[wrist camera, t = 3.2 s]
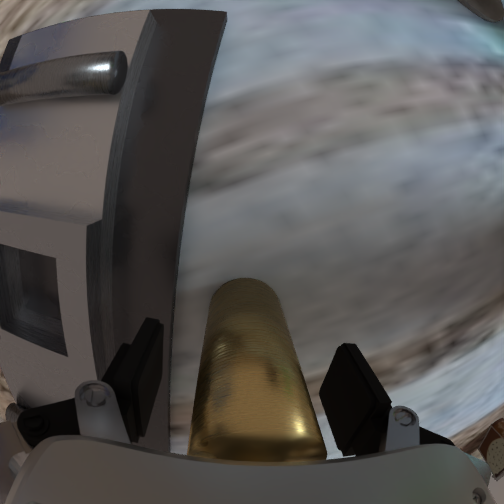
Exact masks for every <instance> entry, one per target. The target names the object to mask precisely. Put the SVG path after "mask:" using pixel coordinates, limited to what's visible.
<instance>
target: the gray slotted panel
mask: <svg viewBox="0 0 504 504" xmlns="http://www.w3.org/2000/svg"><path fill="white" fill-rule="evenodd" d="M226 23H227V12H224V11H212V10H195V9H154V10H138V11H126V12H117V13H110V14H103V15H97V16H91V17H86V18H81V19H76V20H71V21H67V22H63V23H59V24H55V25H52V26H48V27H45V28H41V29H38V30H35V31H32V32H29V33H26V34H23V35H21V36H18V37H15V38H13V39H10V40H9V41H8V44H7V46H6V49H5V52H4V54H3V57H2V60H1V63H0V366H1V369H2V372H3V374H4V377H5V379H6V382H7V384H8V386H9V389H10V391H11V393H12V395H13V397H14V400H15V402H16V404H15V403H11V404H9V405H8V407H7V409H6V420H7V421H8V420H11V422H12V423H13V422H16V421H17V419H18V417H19V415H20V414H21V413H22V412H23V411H24V410H27V409H30V408H34V407H39V406H43V405H48V404H52V403H56V402H60V401H64V400H68V399H72V398H75V390H76V388H77V387H78V386H79V385H80V384H81V383H83V382H85V381H90V380H98V381H101V380H102V378H103V376H104V374H105V372H106V371H107V369H108V367H109V365H110V363H111V362H112V360H113V358H114V356H115V355H116V353H117V351H118V349H119V348H120V346H121V345H122V343H127V344H132V342H133V340H134V338H135V336H136V334H137V333H138V331H139V329H140V327H141V325H142V324H143V322H144V320H145V318H146V317H149V318H154V319H159V320H160V323H161V324H164V337H163V373H162V379H161V383H160V386H159V389H158V393H157V396H156V399H155V403H154V406H153V409H152V413H151V416H150V420H149V423H148V427H147V430H146V434H145V437H140V438H139V441H138V443H135V442H132V445H137V446H141V447H145V448H150V449H155V450H160V451H165V452H170V377H171V352H172V334H173V319H174V306H175V294H176V284H177V274H178V264H179V256H180V247H181V239H182V231H183V224H184V217H185V210H186V203H187V197H188V190H189V184H190V178H191V172H192V167H193V161H194V156H195V150H196V145H197V140H198V135H199V130H200V125H201V121H202V116H203V111H204V107H205V102H206V98H207V94H208V89H209V85H210V81H211V77H212V73H213V69H214V65H215V61H216V58H217V54H218V50H219V47H220V43H221V40H222V36H223V33H224V29H225V26H226Z"/></svg>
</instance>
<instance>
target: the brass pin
mask: <svg viewBox="0 0 504 504" xmlns="http://www.w3.org/2000/svg"><path fill="white" fill-rule="evenodd" d="M187 455H189V456H196V457H203V458H212V459H222V460H234V461H252V462H299V461H317V460H326V458H327V450H326V447H325V443H324V440H323V437H322V434H321V430H320V427H319V424H318V421H317V418H316V414H315V411H314V408H313V405H312V402H311V399H310V395H309V392H308V389H307V386H306V383H305V380H304V376H303V373H302V370H301V367H300V364H299V361H298V358H297V355H296V351H295V348H294V345H293V342H292V339H291V336H290V333H289V330H288V327H287V324H286V321H285V317H284V314H283V311H282V308H281V305H280V302H279V299H278V297H277V295H276V293H275V292H274V291H273V289H272V288H271V287H269V286H268V285H267V284H265V283H264V282H262V281H259V280H256V279H252V278H239V279H235V280H231V281H229V282H227V283H225V284H224V285H222V286H221V287H220V288H219V289H218V290H217V291H216V292H215V293H214V295H213V297H212V299H211V303H210V307H209V313H208V319H207V325H206V330H205V336H204V342H203V348H202V355H201V361H200V367H199V373H198V380H197V386H196V393H195V400H194V407H193V414H192V421H191V428H190V436H189V443H188V451H187Z"/></svg>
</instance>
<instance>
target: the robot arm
mask: <svg viewBox="0 0 504 504" xmlns="http://www.w3.org/2000/svg"><path fill="white" fill-rule="evenodd" d="M163 337H164V324H161V323H160V320H159V319H154V318H149V317H146V318H145V320H144V322H143V324H142V325H141V327H140V329H139V331H138V333H137V334H136V336H135V338H134V340H133V342H132V344H127V343H122V345H121V346H120V348H119V349H118V351H117V353H116V355H115V356H114V358H113V360H112V362H111V363H110V365H109V367H108V369H107V371H106V372H105V374H104V376H103V378H102V380H101V381H98V380H90V381H85V382H83V383H81V384H80V385H79V386H78V387H77V388H76V390H75V398H72V399H68V400H64V401H60V402H56V403H52V404H48V405H43V406H39V407H34V408H30V409H27V410H24V411H23V412H22V413H21V414H20V415H19V417H18V419H17V421H16V422H13V423H12V422H11V420H8V421H5V422H2V423H0V504H496V502H495V500H494V498H493V496H492V494H491V492H490V490H489V489H488V484H489V480H490V476H491V469H490V466H489V465H488V464H487V463H486V462H484V461H482V460H480V459H477V458H475V457H473V456H471V455H469V454H467V453H465V452H463V451H462V450H460V449H459V448H457V447H455V445H454V444H453V442H452V441H451V440H449V439H447V438H445V437H443V436H440V435H438V434H436V433H433V432H431V431H429V430H426V429H424V428H422V427H420V426H419V418H418V416H417V414H416V413H415V412H414V411H413V410H411V409H410V408H408V407H405V406H395V407H393V408H392V406H391V405H390V404H391V403H392V401H391V399H390V398H389V396H388V395H387V393H386V391H385V390H384V388H383V386H382V385H381V383H380V382H379V380H378V378H377V377H376V375H375V374H374V372H373V370H372V369H371V367H370V366H369V364H368V362H367V361H366V359H365V358H364V356H363V355H362V353H361V351H360V350H359V348H358V347H357V345H356V344H350V343H343V344H342V345H341V346H339V347H338V348H337V350H336V353H335V355H334V358H333V360H332V362H331V365H330V367H329V369H328V372H327V374H326V376H325V379H324V381H323V383H322V386H321V388H320V391H319V396H320V399H321V402H322V405H323V408H324V411H325V413H326V416H327V419H328V422H329V425H330V428H331V431H332V433H333V436H334V439H335V442H336V445H337V448H338V450H341V451H342V454H343V457H344V456H352V455H356V456H355V457H347V458H339V459H329V460H317V461H299V462H252V461H234V460H222V459H212V458H203V457H196V456H189V455H183V454H177V453H171V452H165V451H160V450H155V449H150V448H145V447H141V446H137V445H132V442H135V443H138V441H139V438H140V437H145V434H146V430H147V427H148V423H149V420H150V416H151V413H152V409H153V406H154V403H155V399H156V396H157V393H158V389H159V386H160V383H161V379H162V373H163Z"/></svg>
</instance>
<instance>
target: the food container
mask: <svg viewBox="0 0 504 504" xmlns="http://www.w3.org/2000/svg"><path fill="white" fill-rule="evenodd" d="M478 450H479V452H480V453H481V455H482V457H483V458H484V460H485V462H486V463H487V464H488V465H489V466H490V469H491V472H492V474H493V476H492V477H493V478H494V479H495V480H496V481H498V480H499V479H500V478H501V477H503V476H504V419H503V418H501V419H499V420H497V421H496V422H494V423H493V424H492V425H491V426H490V428H489V430H488V432H487V433H486V435H485V437H484V439H483V441H482V442H481V444H480V446H479V447H478Z"/></svg>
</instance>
